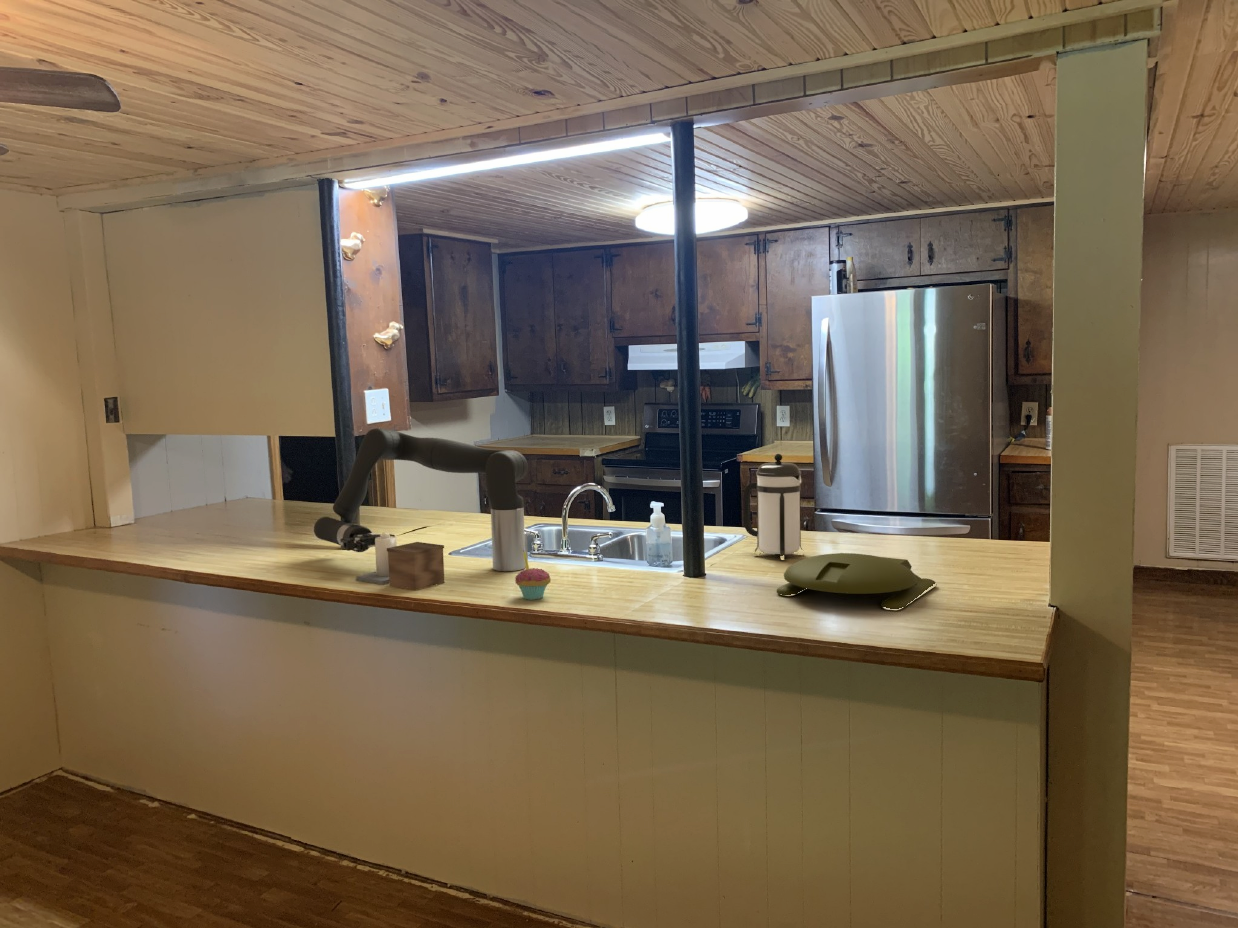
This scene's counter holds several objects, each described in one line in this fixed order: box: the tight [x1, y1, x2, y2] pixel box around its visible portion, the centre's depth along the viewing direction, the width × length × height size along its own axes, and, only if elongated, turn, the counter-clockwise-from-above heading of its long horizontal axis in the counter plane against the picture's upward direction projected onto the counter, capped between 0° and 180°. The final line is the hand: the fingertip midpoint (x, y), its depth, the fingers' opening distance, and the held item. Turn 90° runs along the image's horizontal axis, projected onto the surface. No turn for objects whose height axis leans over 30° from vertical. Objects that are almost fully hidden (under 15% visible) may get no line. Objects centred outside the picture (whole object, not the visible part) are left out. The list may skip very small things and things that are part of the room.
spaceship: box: [776, 552, 937, 609], centre depth 215 cm, size 35×31×10 cm
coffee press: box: [742, 453, 803, 557], centre depth 260 cm, size 17×16×30 cm
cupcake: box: [514, 549, 552, 601], centre depth 218 cm, size 9×8×12 cm
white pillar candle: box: [374, 531, 398, 577], centre depth 243 cm, size 6×6×12 cm
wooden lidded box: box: [387, 541, 445, 591], centre depth 235 cm, size 10×10×10 cm
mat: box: [355, 571, 389, 585], centre depth 244 cm, size 12×11×1 cm
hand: (378, 544), depth 246 cm, fingers open, 8 cm apart
